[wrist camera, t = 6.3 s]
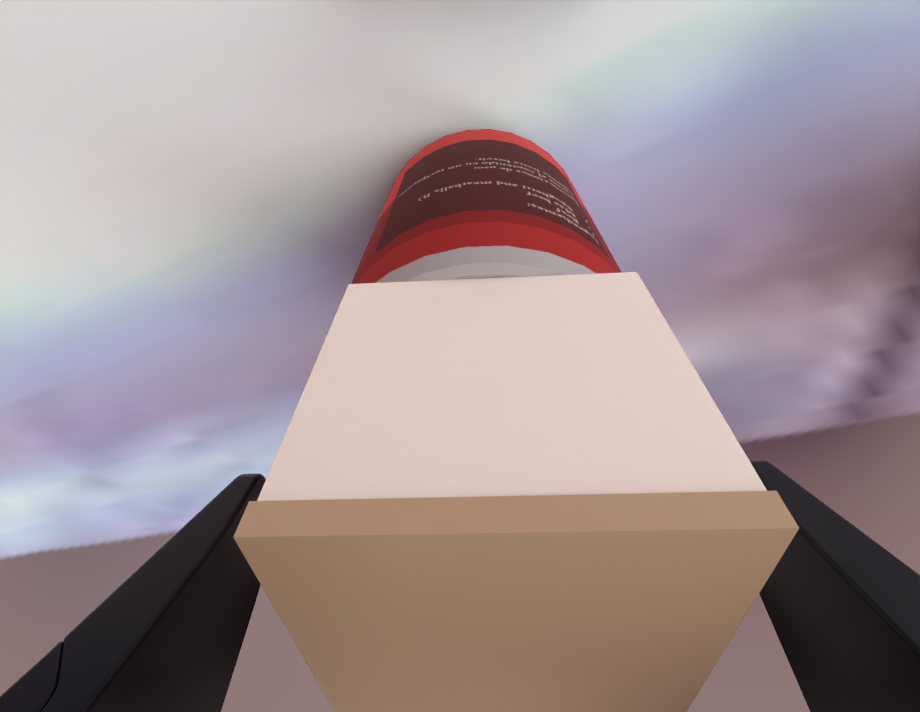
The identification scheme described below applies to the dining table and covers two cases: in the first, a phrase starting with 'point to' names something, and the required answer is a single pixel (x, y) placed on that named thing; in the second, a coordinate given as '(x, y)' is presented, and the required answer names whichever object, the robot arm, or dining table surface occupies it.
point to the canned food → (483, 216)
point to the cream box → (510, 504)
